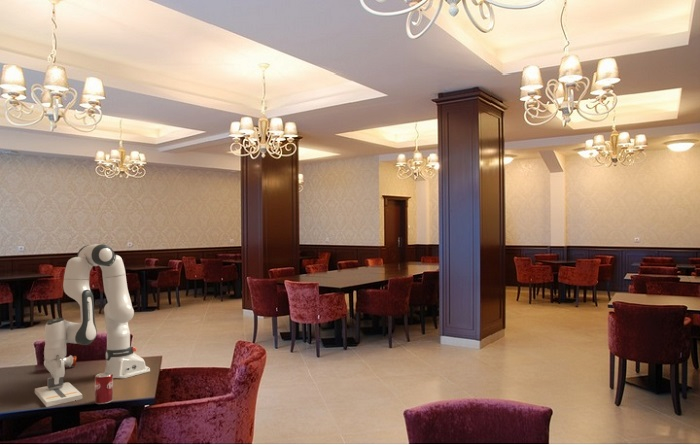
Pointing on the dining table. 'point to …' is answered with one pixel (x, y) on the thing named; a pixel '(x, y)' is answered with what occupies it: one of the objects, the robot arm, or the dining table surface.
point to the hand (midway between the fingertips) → (55, 382)
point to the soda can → (103, 388)
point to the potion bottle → (67, 361)
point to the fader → (51, 383)
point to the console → (58, 394)
